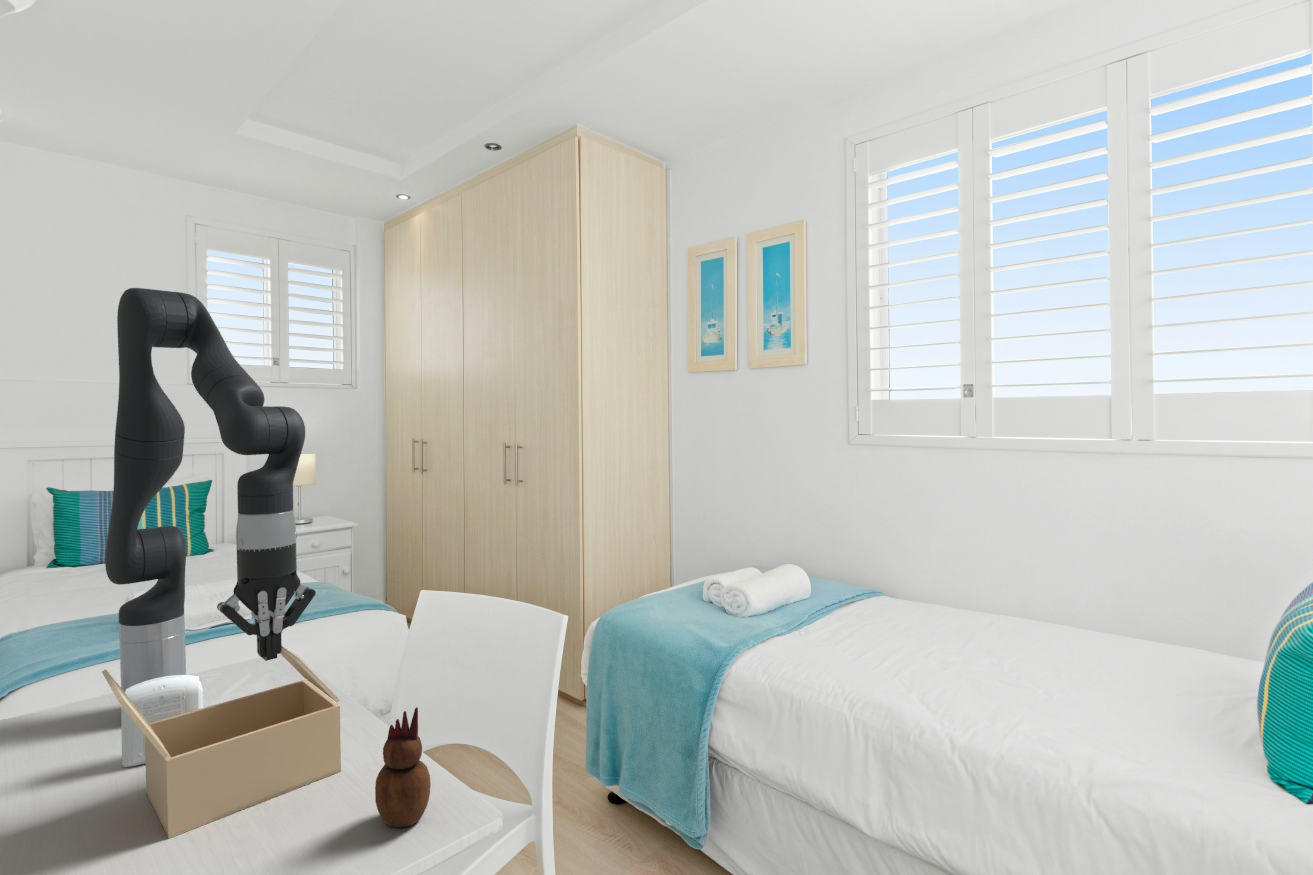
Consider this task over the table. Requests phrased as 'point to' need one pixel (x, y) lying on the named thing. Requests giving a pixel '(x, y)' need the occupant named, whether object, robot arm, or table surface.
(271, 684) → the table surface
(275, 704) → the carton
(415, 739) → the wooden figurine
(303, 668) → the far flap
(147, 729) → the near flap
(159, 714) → the photo printer
